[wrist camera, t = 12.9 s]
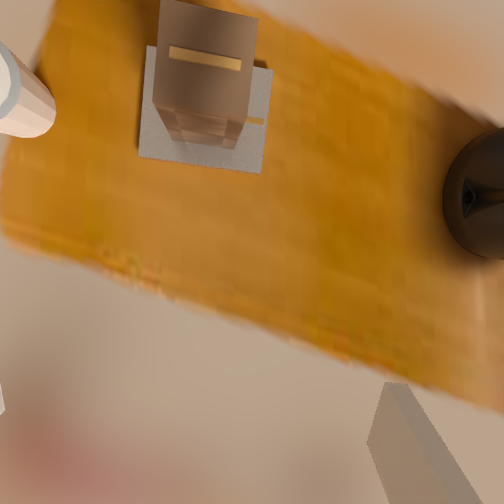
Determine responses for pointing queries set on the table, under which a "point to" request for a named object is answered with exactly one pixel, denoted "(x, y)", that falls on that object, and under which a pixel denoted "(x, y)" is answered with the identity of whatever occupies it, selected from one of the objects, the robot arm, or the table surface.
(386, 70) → the table surface
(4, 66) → the white cup
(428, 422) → the robot arm
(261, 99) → the grey stand base
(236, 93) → the brown slotted box
